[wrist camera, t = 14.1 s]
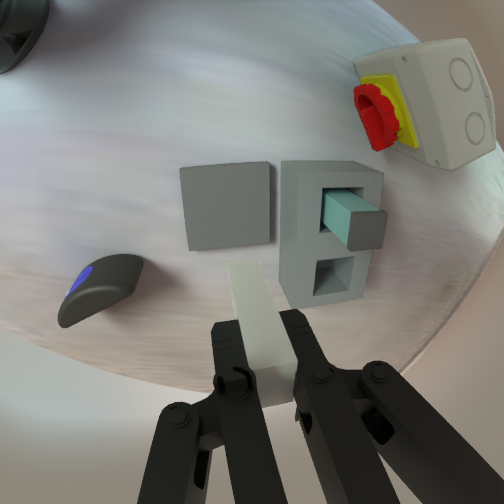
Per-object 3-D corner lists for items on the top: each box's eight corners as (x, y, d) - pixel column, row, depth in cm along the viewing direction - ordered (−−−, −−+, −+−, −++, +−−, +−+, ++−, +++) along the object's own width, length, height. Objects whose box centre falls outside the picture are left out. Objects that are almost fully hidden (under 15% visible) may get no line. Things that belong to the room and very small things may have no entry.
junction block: (280, 161, 38) (299, 172, 31) (357, 161, 39) (386, 173, 32) (278, 280, 47) (292, 310, 40) (344, 271, 49) (364, 297, 42)
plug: (308, 181, 39) (355, 215, 26) (334, 181, 39) (387, 213, 27) (307, 208, 41) (350, 252, 28) (332, 207, 41) (381, 248, 29)
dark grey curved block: (131, 237, 39) (115, 270, 31) (146, 261, 41) (135, 297, 33) (63, 279, 40) (42, 312, 32) (79, 298, 42) (61, 333, 34)
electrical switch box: (316, 71, 34) (375, 57, 17) (392, 47, 30) (474, 37, 14) (354, 152, 41) (421, 197, 24) (421, 124, 37) (502, 154, 21)
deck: (180, 167, 36) (179, 169, 34) (267, 161, 37) (269, 163, 36) (189, 246, 41) (189, 251, 40) (267, 238, 43) (269, 243, 42)
